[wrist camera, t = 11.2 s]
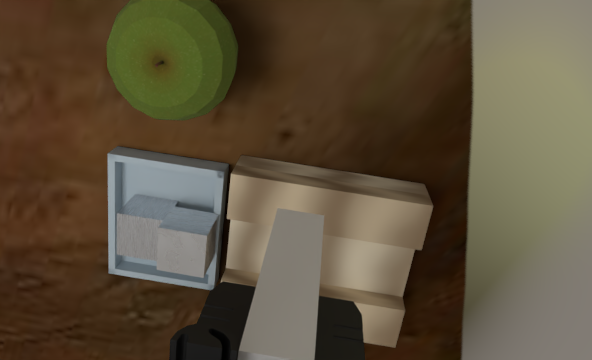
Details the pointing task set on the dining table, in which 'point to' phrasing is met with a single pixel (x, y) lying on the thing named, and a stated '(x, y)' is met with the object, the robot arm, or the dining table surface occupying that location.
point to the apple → (172, 57)
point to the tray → (169, 185)
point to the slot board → (334, 248)
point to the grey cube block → (141, 225)
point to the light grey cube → (187, 241)
